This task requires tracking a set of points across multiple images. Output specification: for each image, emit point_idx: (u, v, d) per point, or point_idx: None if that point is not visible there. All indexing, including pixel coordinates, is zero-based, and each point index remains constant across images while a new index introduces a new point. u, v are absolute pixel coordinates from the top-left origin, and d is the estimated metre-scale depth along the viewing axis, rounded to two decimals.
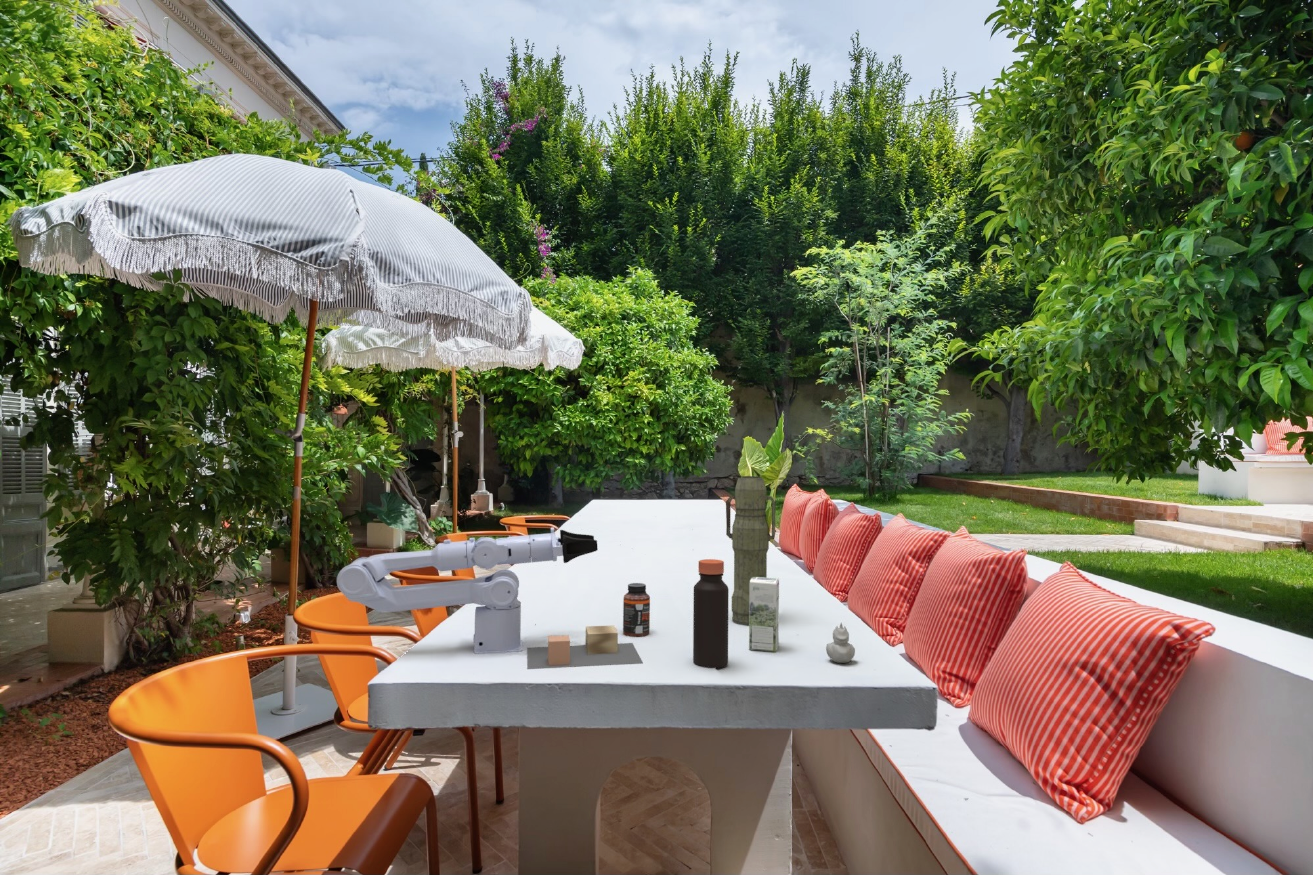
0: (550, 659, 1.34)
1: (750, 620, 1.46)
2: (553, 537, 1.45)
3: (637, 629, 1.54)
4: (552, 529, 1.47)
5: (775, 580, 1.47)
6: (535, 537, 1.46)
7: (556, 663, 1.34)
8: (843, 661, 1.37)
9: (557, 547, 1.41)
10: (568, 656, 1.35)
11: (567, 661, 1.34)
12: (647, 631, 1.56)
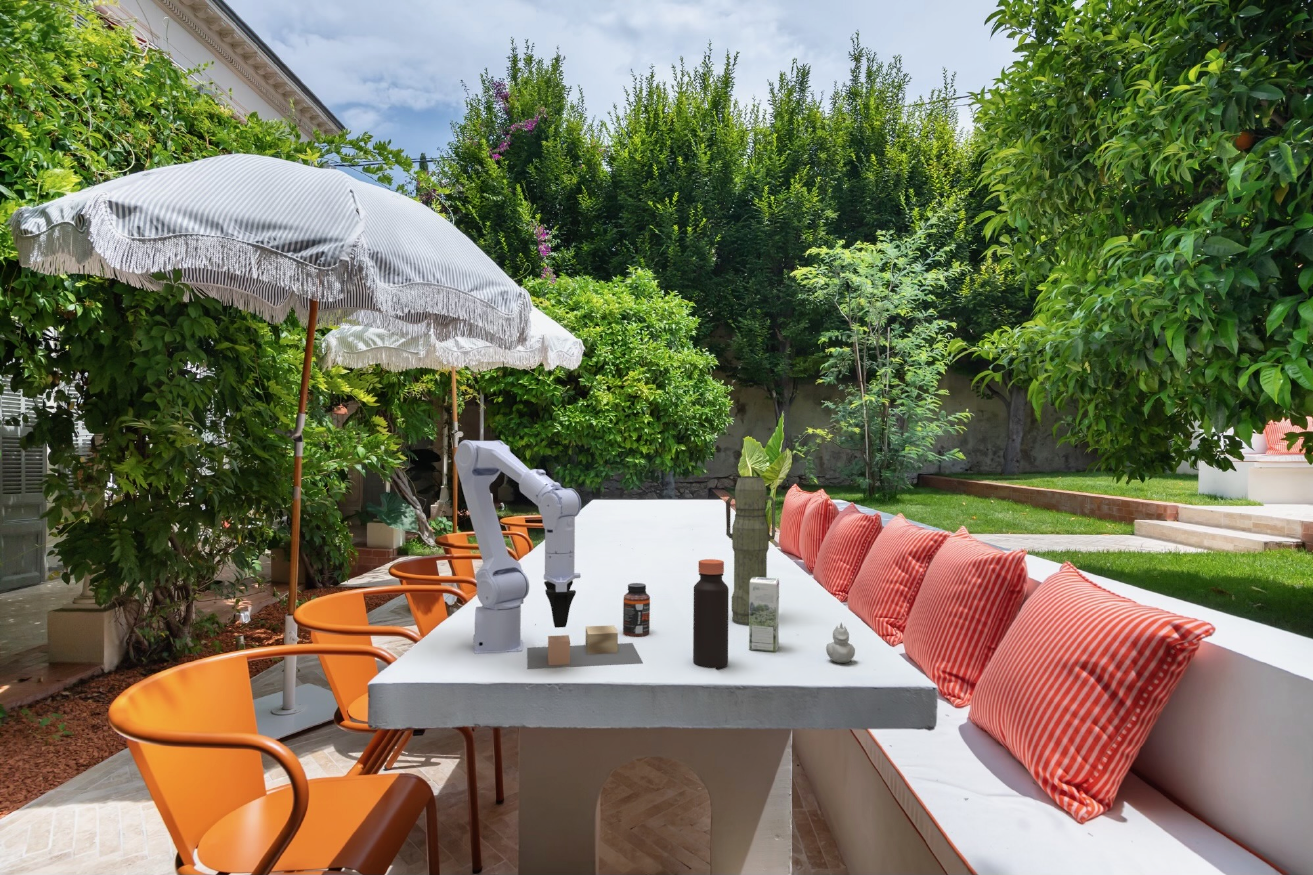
0: (550, 659, 1.34)
1: (750, 620, 1.46)
2: (572, 578, 1.34)
3: (637, 629, 1.54)
4: (579, 576, 1.36)
5: (775, 580, 1.47)
6: (572, 558, 1.35)
7: (556, 663, 1.34)
8: (843, 661, 1.37)
9: (565, 586, 1.29)
10: (568, 656, 1.35)
11: (567, 661, 1.34)
12: (647, 631, 1.56)
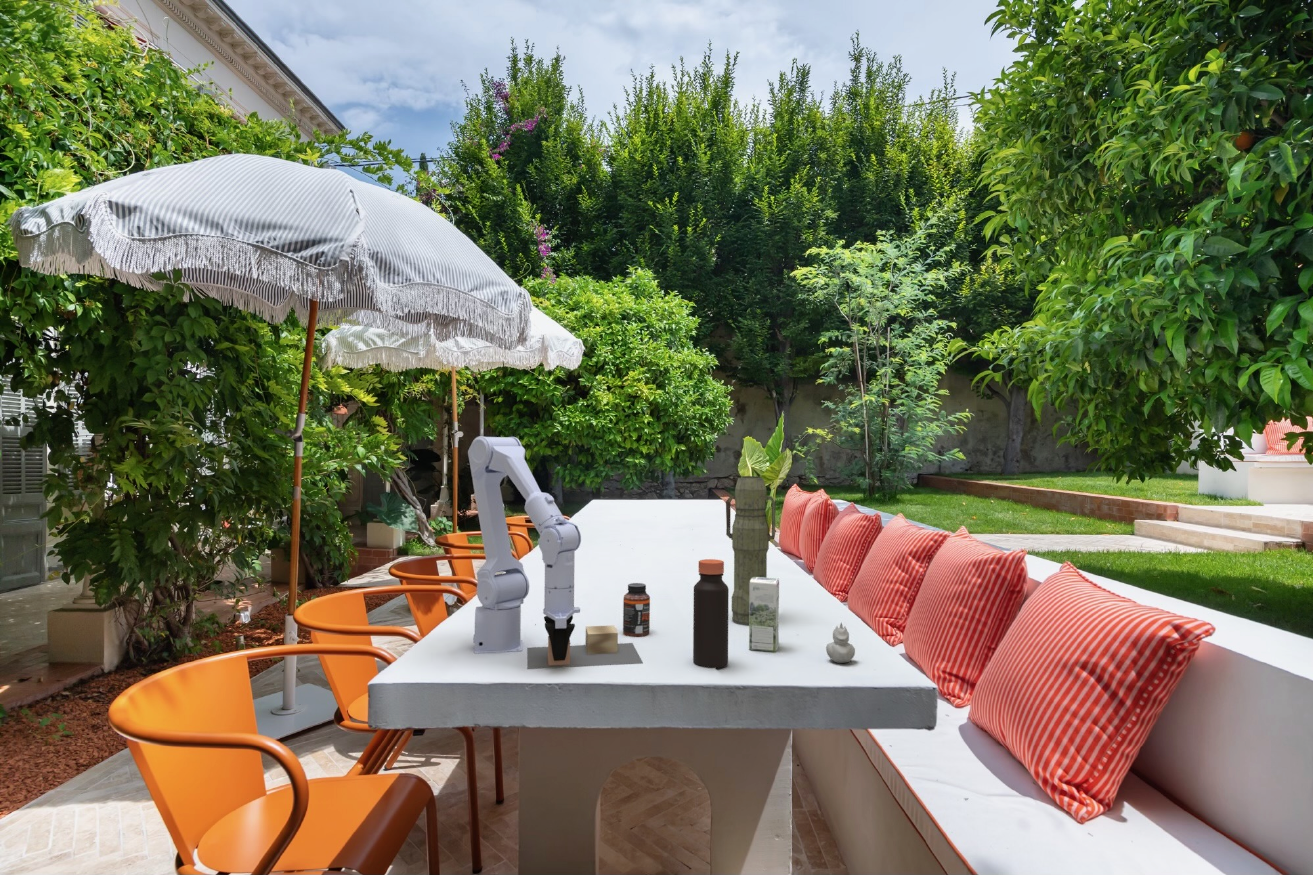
0: (550, 659, 1.34)
1: (750, 620, 1.46)
2: (571, 613, 1.34)
3: (637, 629, 1.54)
4: (578, 610, 1.36)
5: (775, 580, 1.47)
6: (572, 593, 1.35)
7: (556, 663, 1.34)
8: (843, 661, 1.37)
9: (565, 622, 1.29)
10: (568, 656, 1.35)
11: (567, 661, 1.34)
12: (647, 631, 1.56)
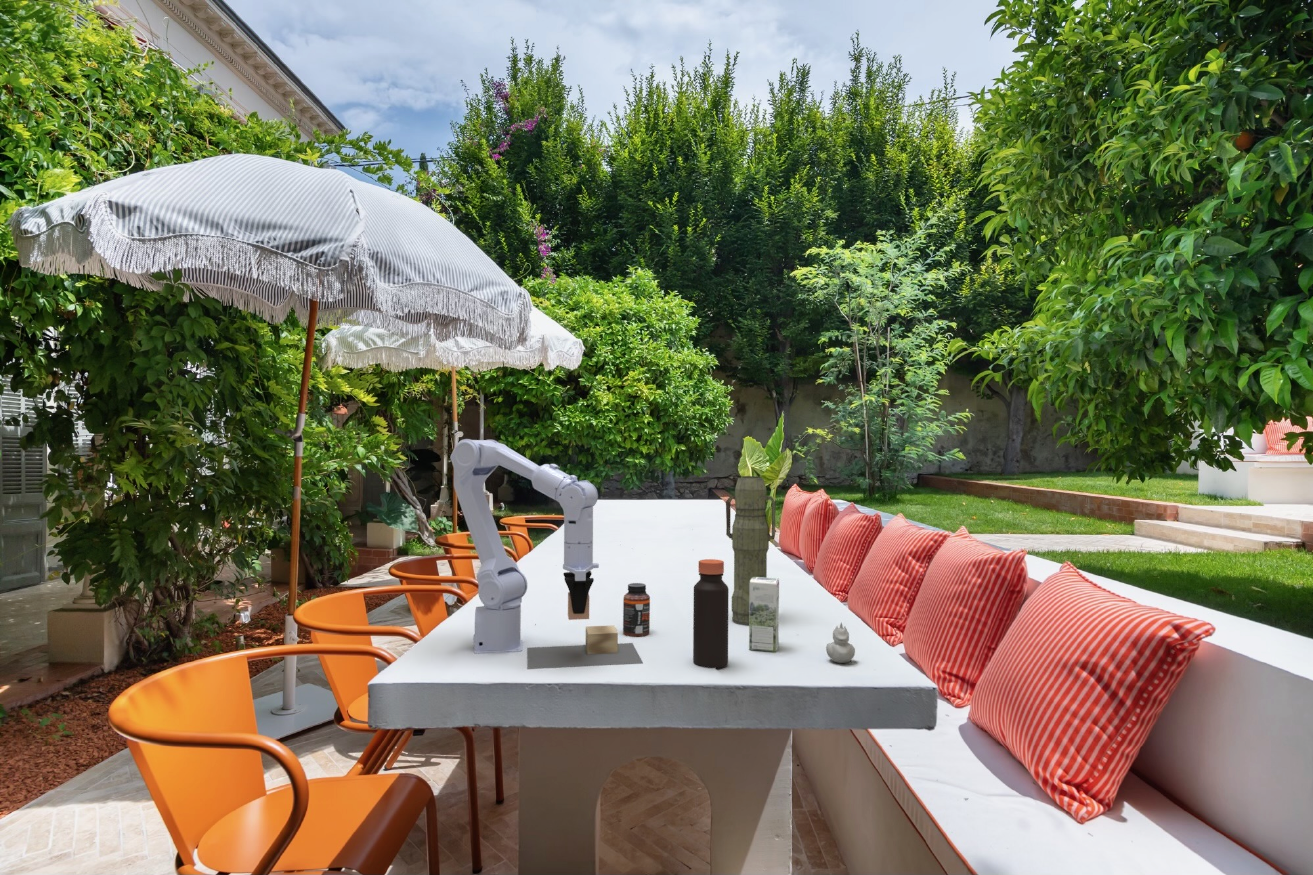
0: (570, 614, 1.38)
1: (750, 620, 1.46)
2: (590, 568, 1.38)
3: (637, 629, 1.54)
4: (597, 566, 1.40)
5: (775, 580, 1.47)
6: (591, 548, 1.39)
7: (576, 618, 1.38)
8: (843, 661, 1.37)
9: (584, 575, 1.33)
10: (588, 611, 1.38)
11: (586, 616, 1.38)
12: (647, 631, 1.56)
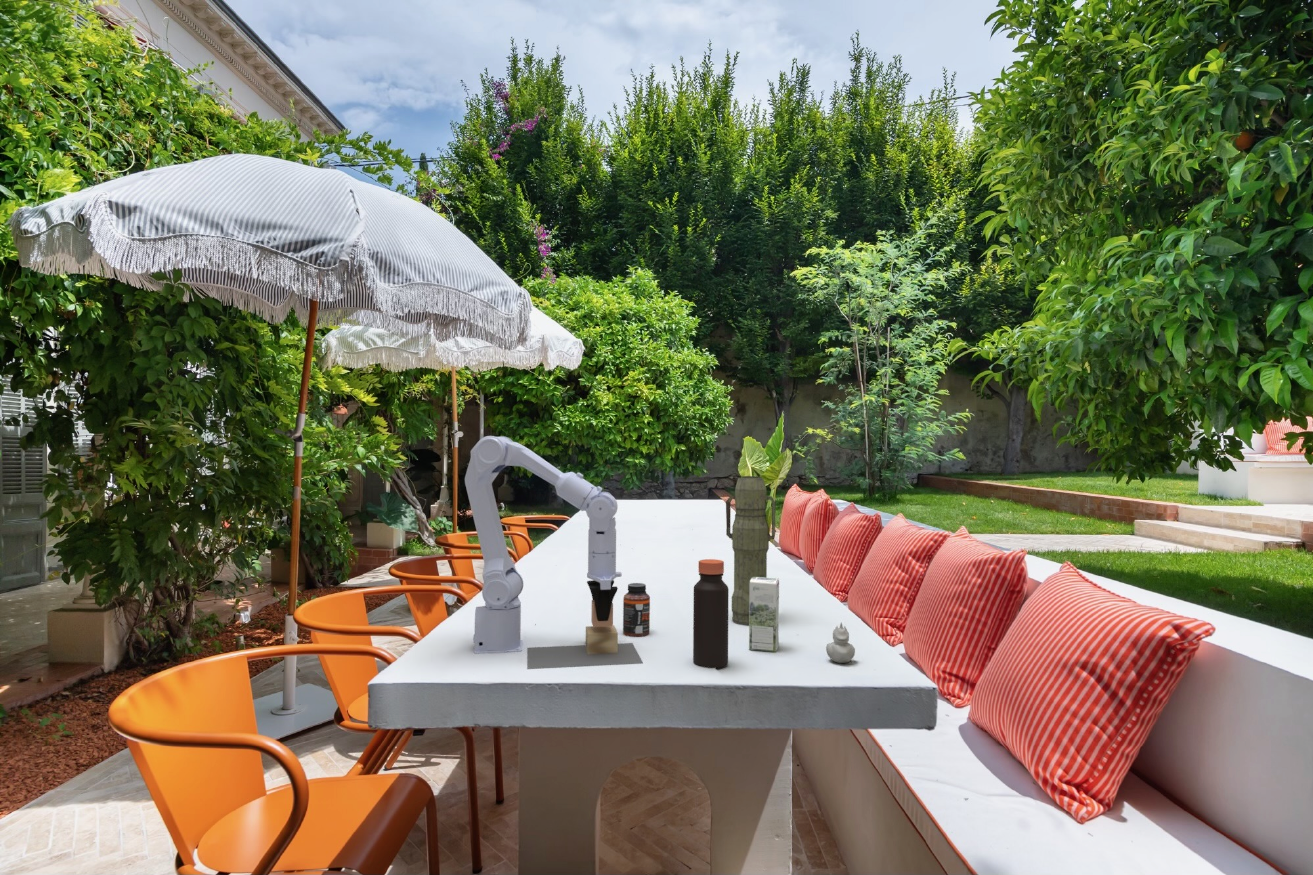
0: (594, 621, 1.42)
1: (750, 620, 1.46)
2: (614, 577, 1.43)
3: (637, 629, 1.54)
4: (620, 575, 1.45)
5: (775, 580, 1.47)
6: (614, 558, 1.44)
7: (600, 625, 1.43)
8: (843, 661, 1.37)
9: (609, 584, 1.38)
10: (611, 618, 1.43)
11: (610, 623, 1.43)
12: (647, 631, 1.56)
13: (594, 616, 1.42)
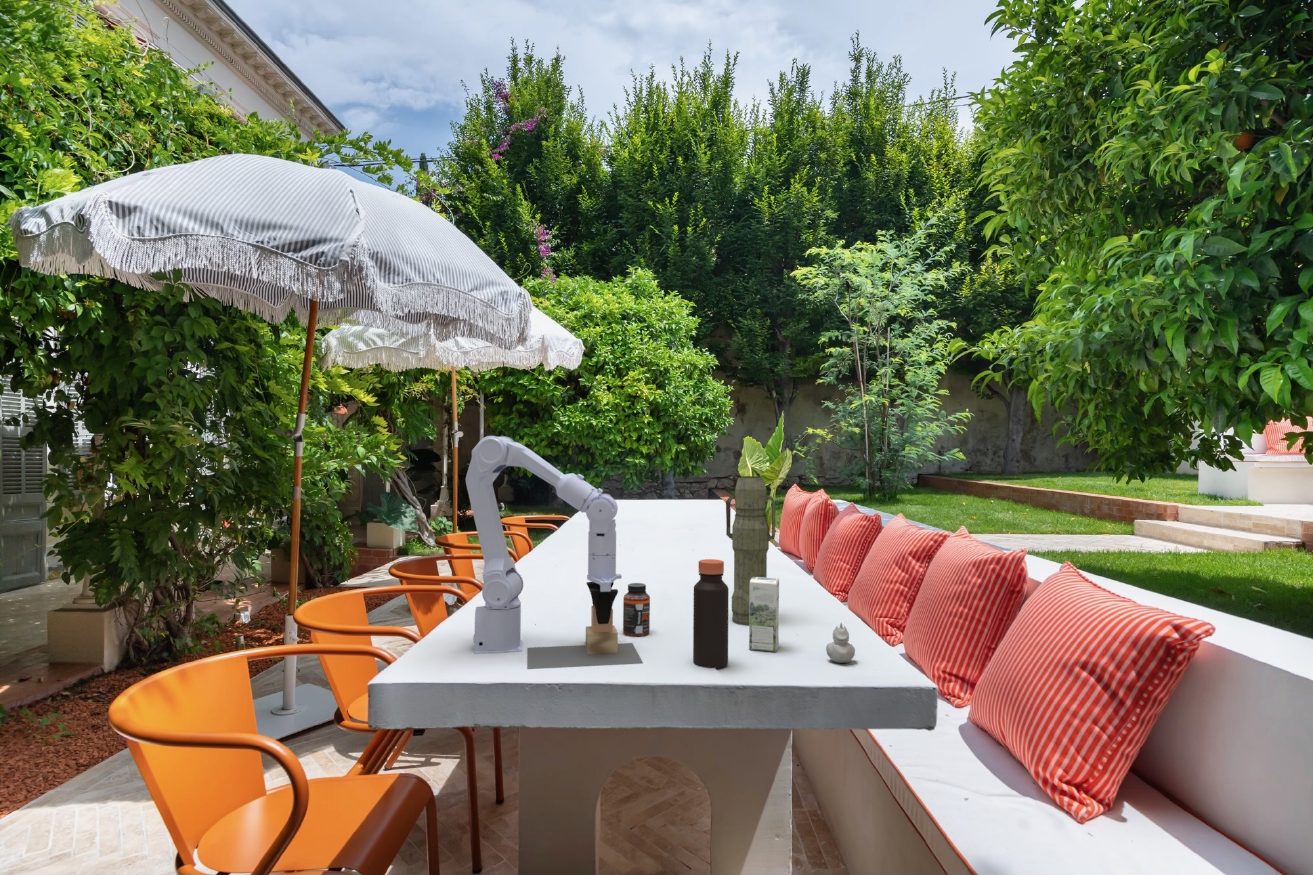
0: (594, 627, 1.42)
1: (750, 620, 1.46)
2: (614, 579, 1.43)
3: (637, 629, 1.54)
4: (620, 577, 1.45)
5: (775, 580, 1.47)
6: (614, 560, 1.44)
7: (600, 630, 1.43)
8: (843, 661, 1.37)
9: (609, 586, 1.38)
10: (611, 624, 1.43)
11: (610, 628, 1.43)
12: (647, 631, 1.56)
13: (594, 622, 1.42)
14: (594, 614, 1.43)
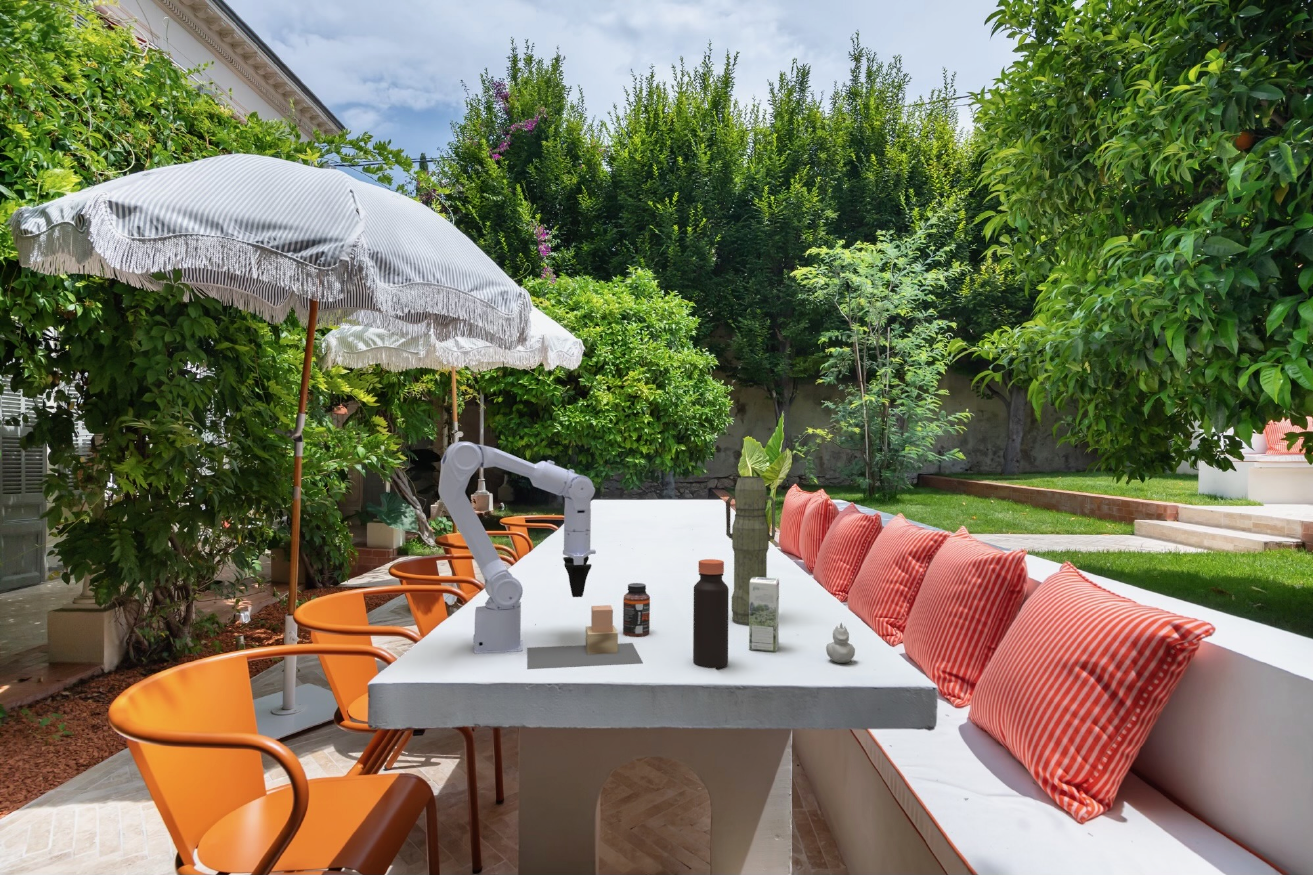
0: (594, 627, 1.42)
1: (750, 620, 1.46)
2: (588, 553, 1.50)
3: (637, 629, 1.54)
4: (594, 552, 1.52)
5: (775, 580, 1.47)
6: (588, 536, 1.51)
7: (600, 630, 1.43)
8: (843, 661, 1.37)
9: (582, 560, 1.45)
10: (611, 624, 1.43)
11: (610, 628, 1.43)
12: (647, 631, 1.56)
13: (594, 622, 1.42)
14: (594, 614, 1.43)
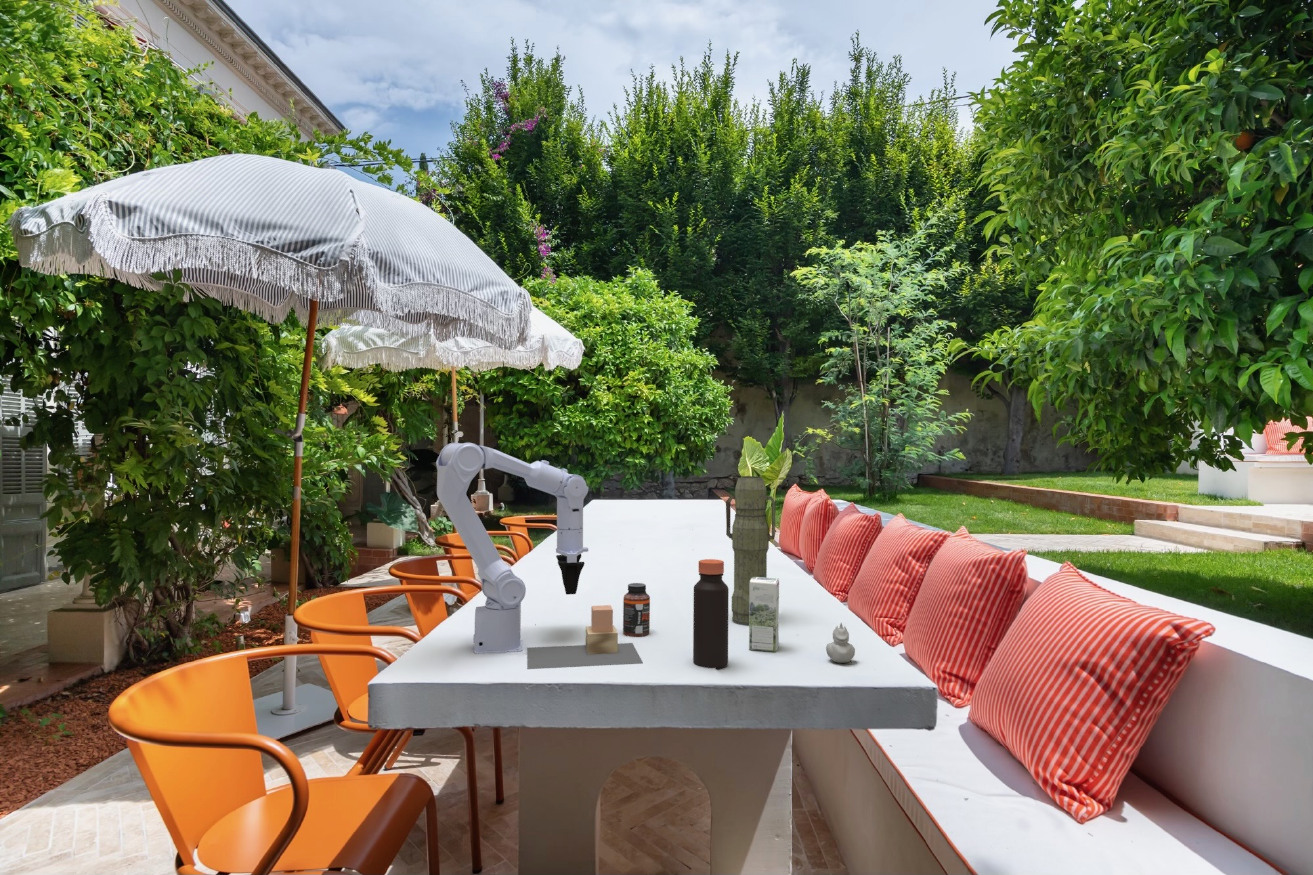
0: (594, 627, 1.42)
1: (750, 620, 1.46)
2: (581, 551, 1.52)
3: (637, 629, 1.54)
4: (587, 550, 1.54)
5: (775, 580, 1.47)
6: (581, 534, 1.54)
7: (600, 630, 1.43)
8: (843, 661, 1.37)
9: (575, 557, 1.48)
10: (611, 624, 1.43)
11: (610, 628, 1.43)
12: (647, 631, 1.56)
13: (594, 622, 1.42)
14: (594, 614, 1.43)
